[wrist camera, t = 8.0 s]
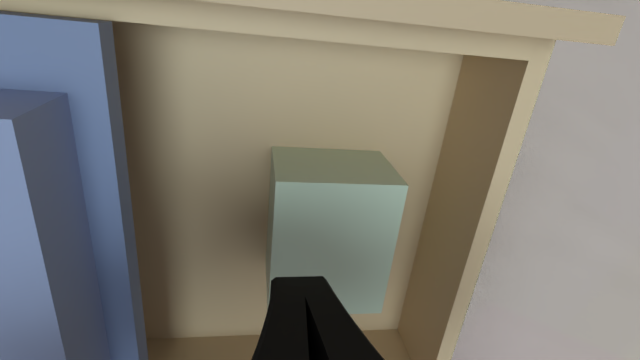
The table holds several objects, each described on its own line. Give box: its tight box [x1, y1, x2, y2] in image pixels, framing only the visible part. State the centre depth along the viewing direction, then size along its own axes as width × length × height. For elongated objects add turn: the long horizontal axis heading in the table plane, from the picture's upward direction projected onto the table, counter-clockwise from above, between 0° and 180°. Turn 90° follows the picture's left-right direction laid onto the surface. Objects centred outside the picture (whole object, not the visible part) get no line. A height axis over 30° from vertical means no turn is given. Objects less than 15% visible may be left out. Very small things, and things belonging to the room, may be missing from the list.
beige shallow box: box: [0, 0, 626, 360], centre depth 12 cm, size 15×20×6 cm
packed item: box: [266, 146, 409, 314], centre depth 14 cm, size 5×4×3 cm
